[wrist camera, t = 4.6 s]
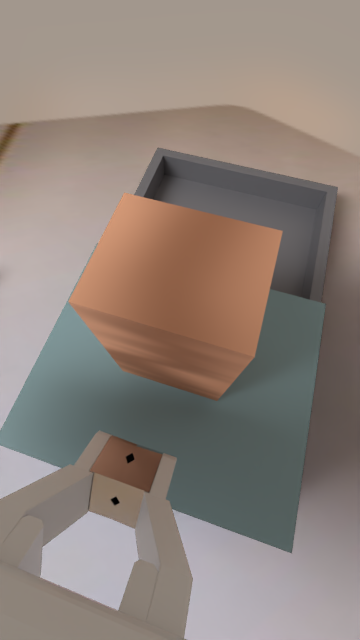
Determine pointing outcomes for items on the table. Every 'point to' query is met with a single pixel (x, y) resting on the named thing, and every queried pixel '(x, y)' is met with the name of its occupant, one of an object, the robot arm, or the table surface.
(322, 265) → the box
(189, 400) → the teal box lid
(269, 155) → the table surface
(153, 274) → the terracotta block
